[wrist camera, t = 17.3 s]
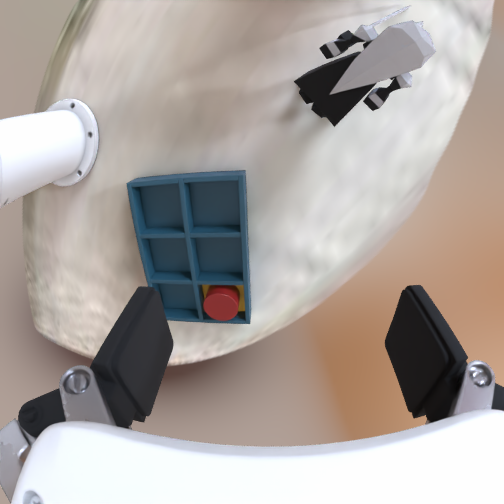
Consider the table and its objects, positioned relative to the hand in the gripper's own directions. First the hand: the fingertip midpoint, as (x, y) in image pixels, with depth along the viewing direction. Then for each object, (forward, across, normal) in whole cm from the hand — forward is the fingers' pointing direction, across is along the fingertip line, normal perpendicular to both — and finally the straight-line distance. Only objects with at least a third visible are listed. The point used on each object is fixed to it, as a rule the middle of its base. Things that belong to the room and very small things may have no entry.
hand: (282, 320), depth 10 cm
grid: (+23, +10, +9) cm, 27 cm away
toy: (+24, -12, -16) cm, 31 cm away
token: (+23, +7, +16) cm, 28 cm away
